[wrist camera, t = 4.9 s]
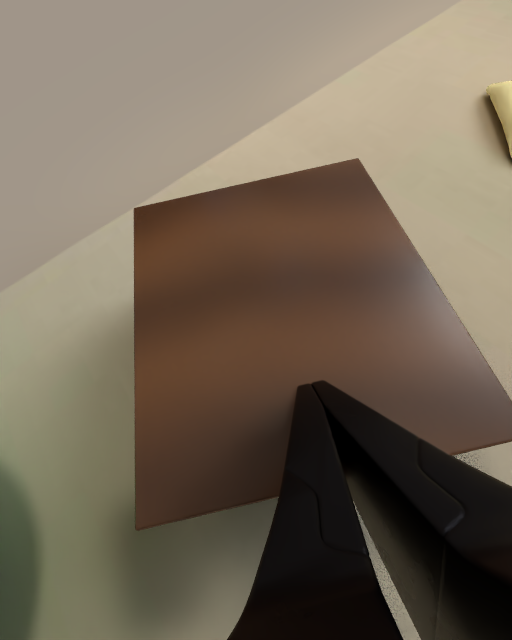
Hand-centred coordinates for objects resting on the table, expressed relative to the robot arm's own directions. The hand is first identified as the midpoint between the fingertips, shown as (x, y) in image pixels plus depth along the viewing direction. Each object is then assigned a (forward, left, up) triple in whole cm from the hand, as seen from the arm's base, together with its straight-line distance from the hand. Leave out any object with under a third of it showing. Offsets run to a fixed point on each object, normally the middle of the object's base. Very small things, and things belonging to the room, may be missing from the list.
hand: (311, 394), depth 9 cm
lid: (+3, +3, -2) cm, 4 cm away
